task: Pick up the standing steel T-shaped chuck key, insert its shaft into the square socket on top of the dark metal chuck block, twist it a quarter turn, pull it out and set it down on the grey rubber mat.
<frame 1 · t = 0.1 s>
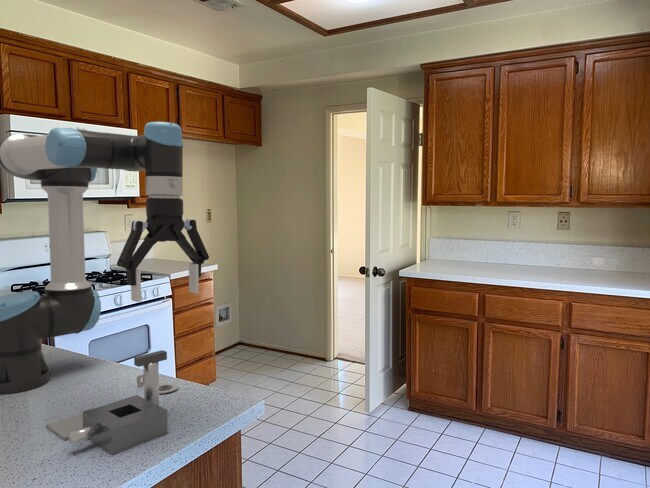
hand: (166, 296, 109), 28 cm above the countertop, fingers open, 13 cm apart
chuck key: (151, 413, 115), on the countertop
bracket: (159, 389, 131), on the countertop
chuck block: (125, 434, 105), on the countertop
mat: (77, 426, 108), on the countertop
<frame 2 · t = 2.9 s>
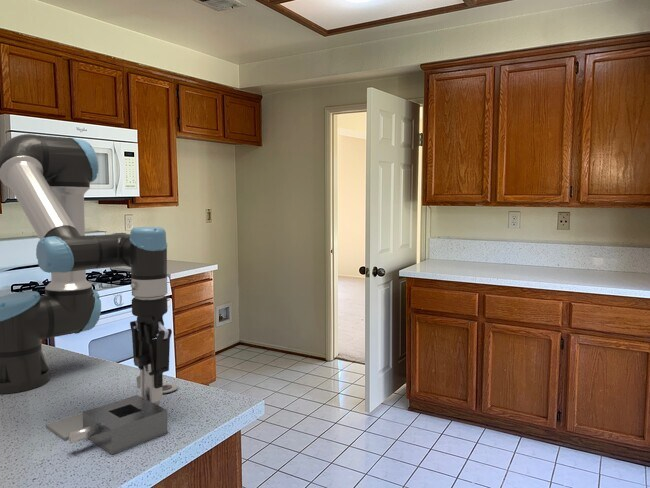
hand: (151, 398, 114), 4 cm above the countertop, fingers closed on chuck key, 3 cm apart
chuck key: (151, 413, 115), on the countertop, touching gripper
everything else where it was.
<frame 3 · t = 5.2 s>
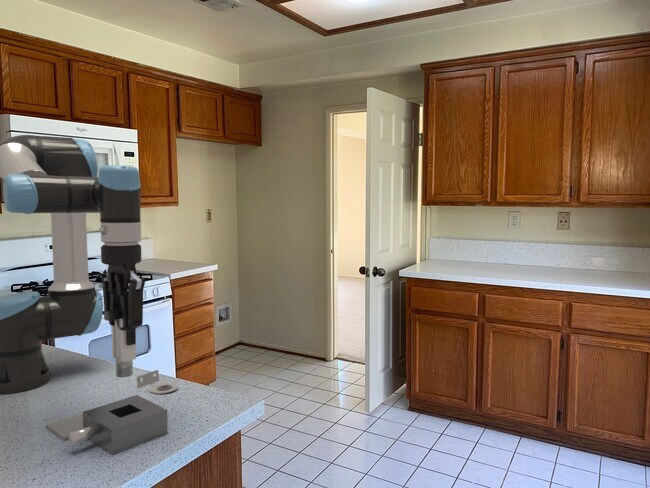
hand: (124, 357, 103), 16 cm above the countertop, fingers closed on chuck key, 3 cm apart
chuck key: (124, 374, 103), point 13 cm above the countertop, touching gripper
everything else where it was.
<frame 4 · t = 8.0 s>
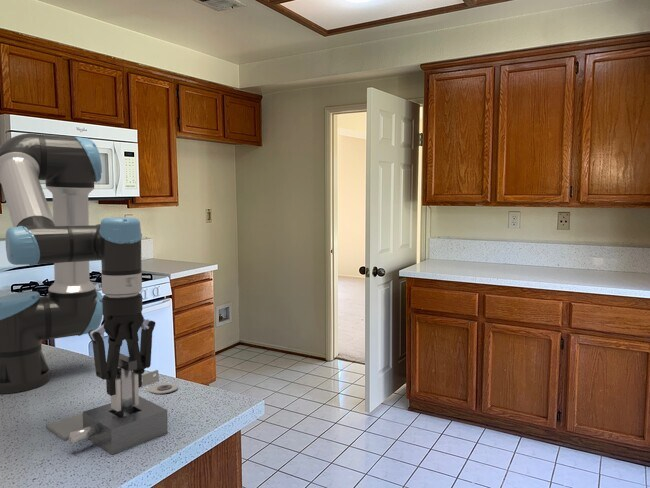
hand: (125, 406, 104), 6 cm above the countertop, fingers closed on chuck key, 3 cm apart
chuck key: (125, 422, 104), point 2 cm above the countertop, touching gripper
everything else where it was.
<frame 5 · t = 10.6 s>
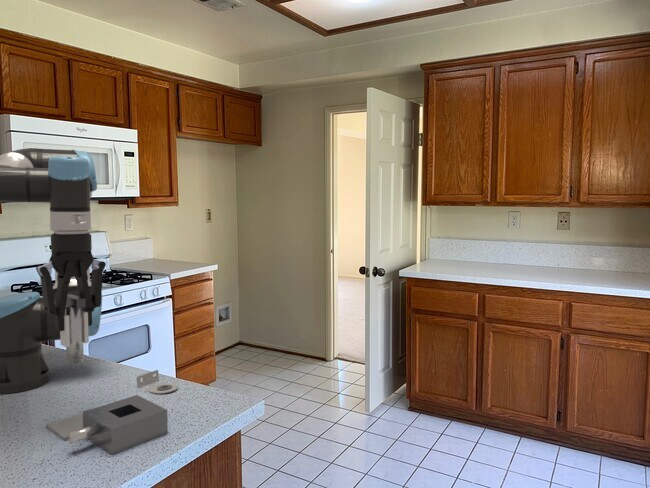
hand: (74, 343, 106), 18 cm above the countertop, fingers closed on chuck key, 3 cm apart
chuck key: (75, 361, 107), point 14 cm above the countertop, touching gripper
everything else where it was.
when the fingers open (5 cm above the countertop, at t = 13.1 s): chuck key stays where it is, resting on mat.
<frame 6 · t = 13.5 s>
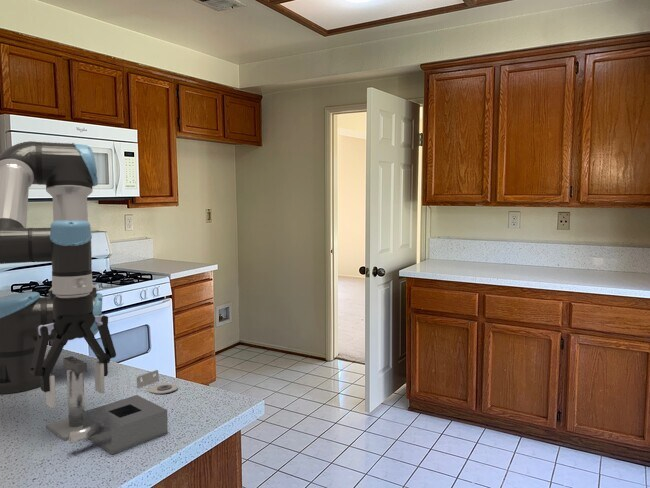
hand: (76, 398, 107), 6 cm above the countertop, fingers open, 9 cm apart
chuck key: (77, 423, 108), point 1 cm above the countertop, touching mat
everything else where it was.
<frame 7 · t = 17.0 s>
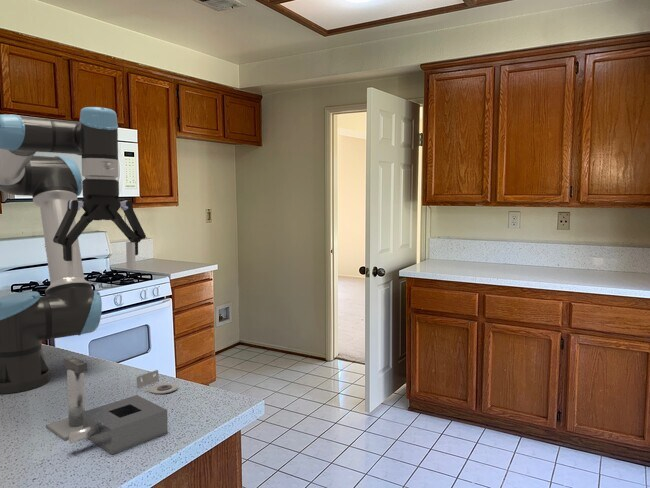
hand: (103, 272, 115), 32 cm above the countertop, fingers open, 13 cm apart
nothing on the countertop moved.
at the end: chuck key inside the target area on the mat (0.0 cm from its centre), point 0.6 cm above the mat's base; the gripper is holding nothing; chuck key touching mat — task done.
